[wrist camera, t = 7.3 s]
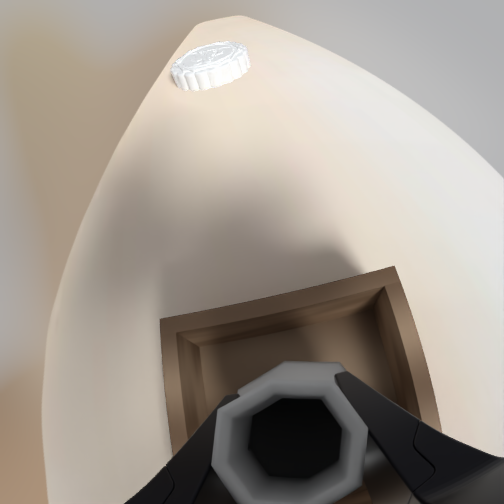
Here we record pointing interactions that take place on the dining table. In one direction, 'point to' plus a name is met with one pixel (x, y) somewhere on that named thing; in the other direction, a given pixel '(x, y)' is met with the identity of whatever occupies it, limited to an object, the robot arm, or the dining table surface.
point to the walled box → (297, 349)
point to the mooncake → (210, 66)
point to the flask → (290, 438)
